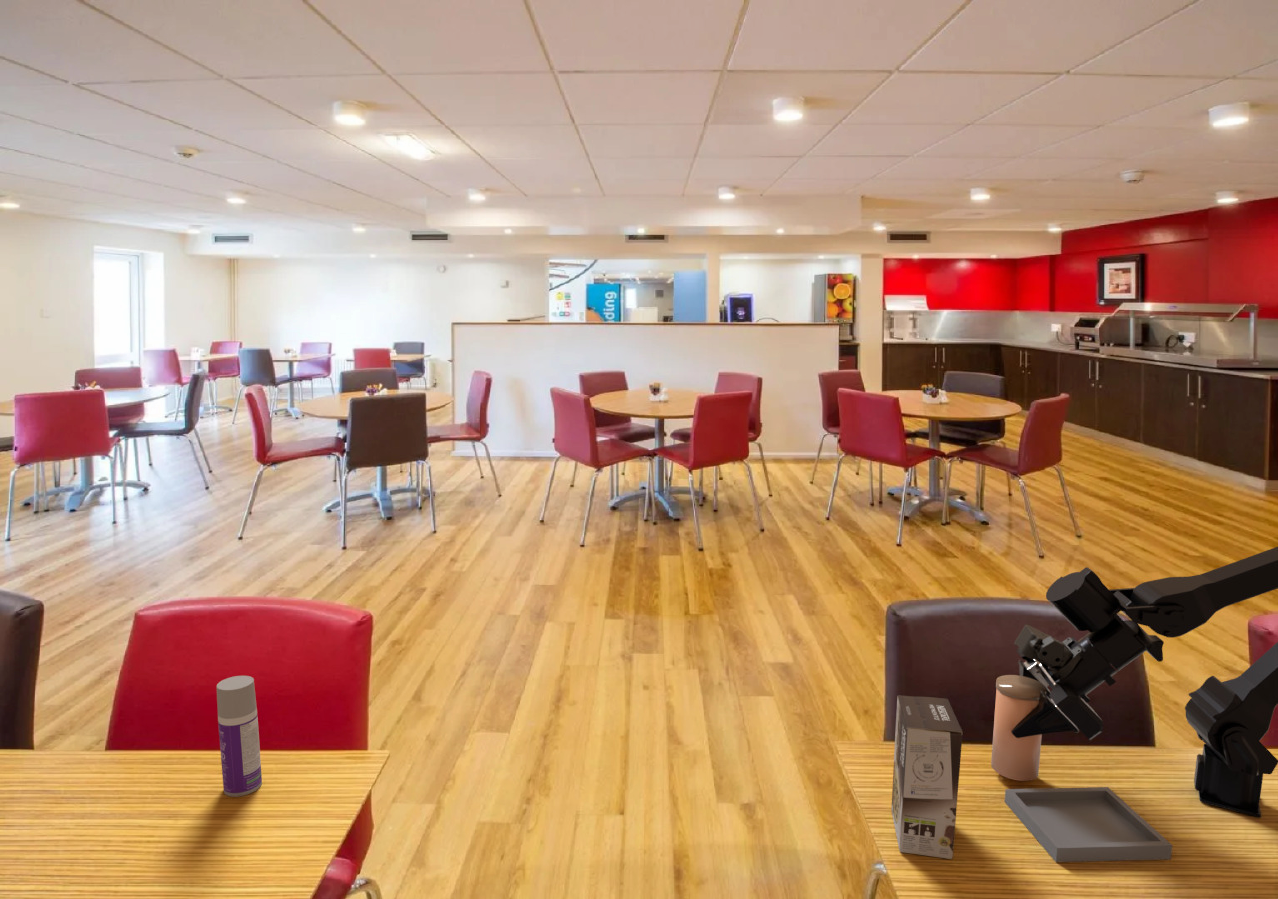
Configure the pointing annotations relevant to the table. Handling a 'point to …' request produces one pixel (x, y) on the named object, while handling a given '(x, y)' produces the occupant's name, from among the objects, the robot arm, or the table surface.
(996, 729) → the brown and pink cylinder
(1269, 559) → the robot arm
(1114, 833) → the tray
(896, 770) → the coffee box
